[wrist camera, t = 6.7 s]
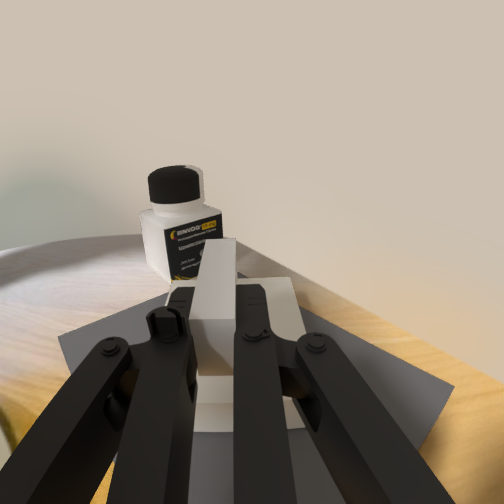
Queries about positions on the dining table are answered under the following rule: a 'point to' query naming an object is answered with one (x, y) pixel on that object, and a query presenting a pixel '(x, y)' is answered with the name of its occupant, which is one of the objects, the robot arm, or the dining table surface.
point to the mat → (301, 445)
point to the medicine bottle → (178, 222)
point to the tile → (221, 387)
